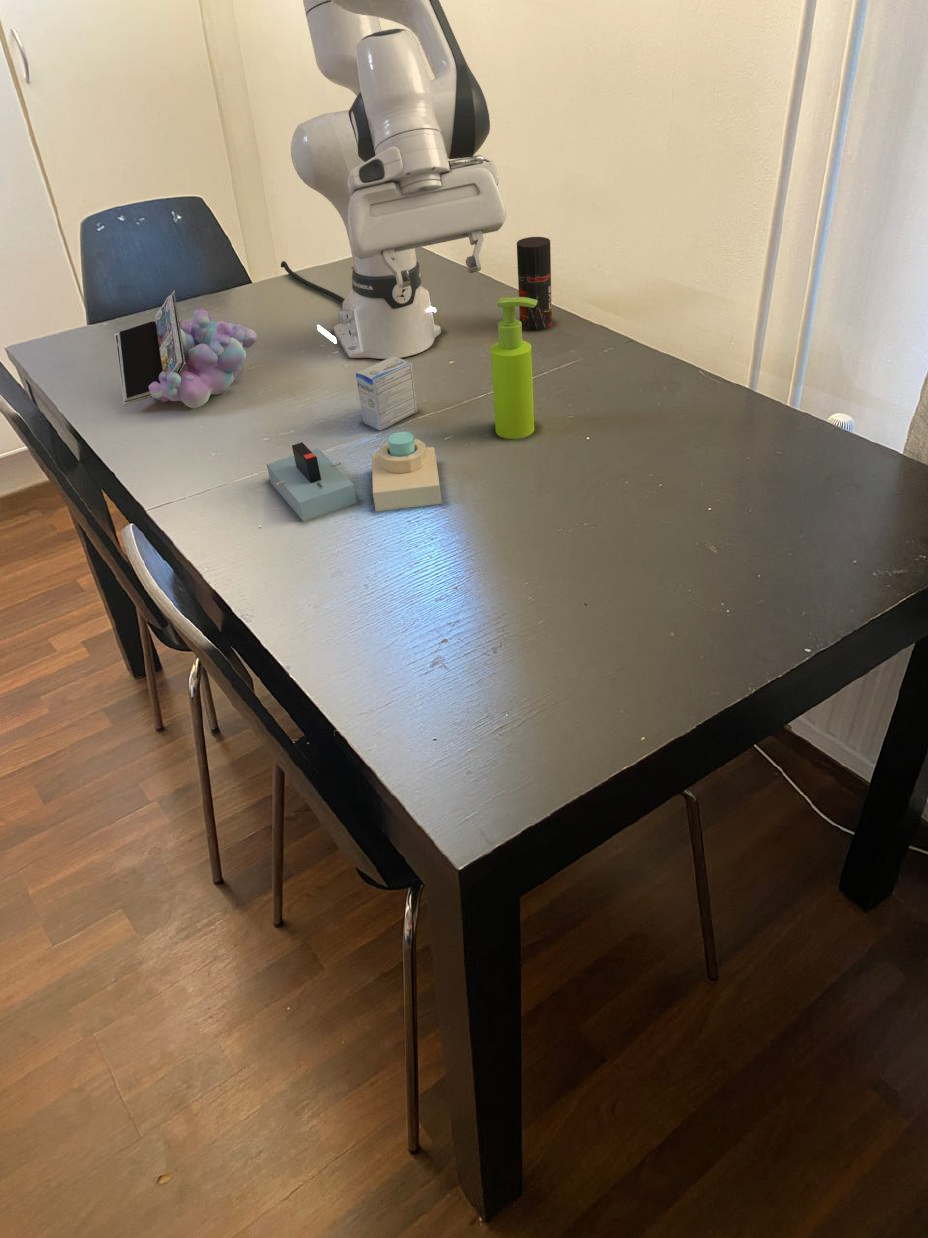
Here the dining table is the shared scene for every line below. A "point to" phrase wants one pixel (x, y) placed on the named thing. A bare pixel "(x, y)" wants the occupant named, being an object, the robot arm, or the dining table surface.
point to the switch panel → (312, 487)
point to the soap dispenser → (512, 374)
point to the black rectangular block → (306, 462)
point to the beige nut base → (405, 478)
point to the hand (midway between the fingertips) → (440, 278)
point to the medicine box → (386, 392)
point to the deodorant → (535, 282)
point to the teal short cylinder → (401, 444)
